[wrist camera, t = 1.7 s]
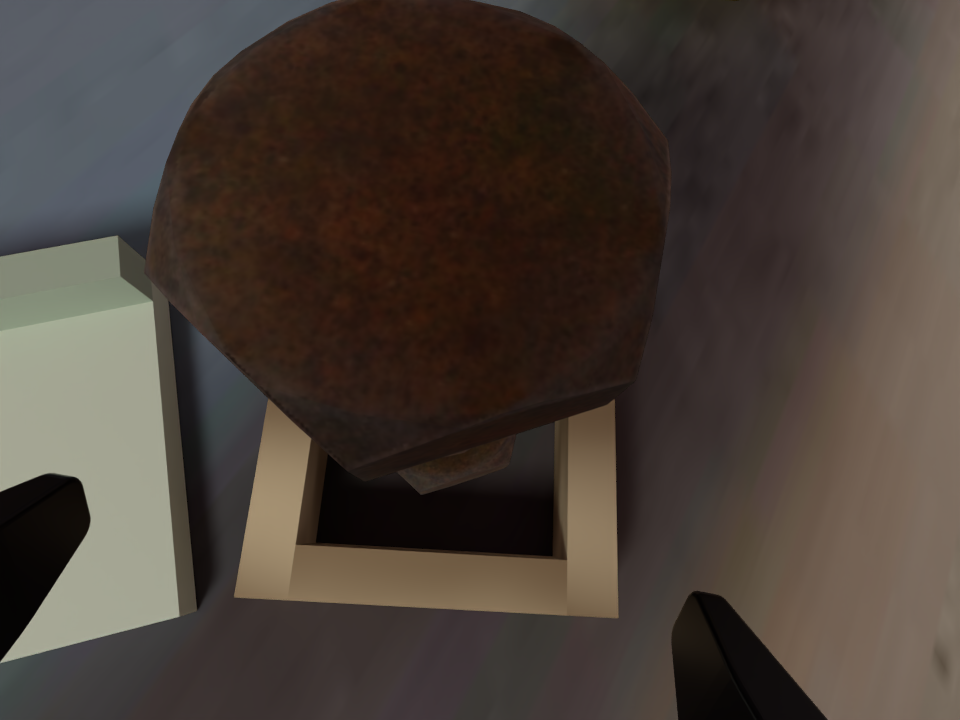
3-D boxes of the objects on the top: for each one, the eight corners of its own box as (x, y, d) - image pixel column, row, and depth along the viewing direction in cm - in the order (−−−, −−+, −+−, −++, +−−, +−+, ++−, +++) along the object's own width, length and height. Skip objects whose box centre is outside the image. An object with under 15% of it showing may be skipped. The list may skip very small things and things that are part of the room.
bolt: (498, 345, 21) (596, -54, 7) (543, 475, 20) (791, 327, 5) (347, 389, 20) (86, 46, 6) (383, 527, 19) (160, 522, 4)
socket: (596, 606, 18) (618, 618, 16) (262, 588, 18) (234, 597, 16) (594, 301, 22) (612, 272, 19) (311, 281, 21) (294, 250, 19)
